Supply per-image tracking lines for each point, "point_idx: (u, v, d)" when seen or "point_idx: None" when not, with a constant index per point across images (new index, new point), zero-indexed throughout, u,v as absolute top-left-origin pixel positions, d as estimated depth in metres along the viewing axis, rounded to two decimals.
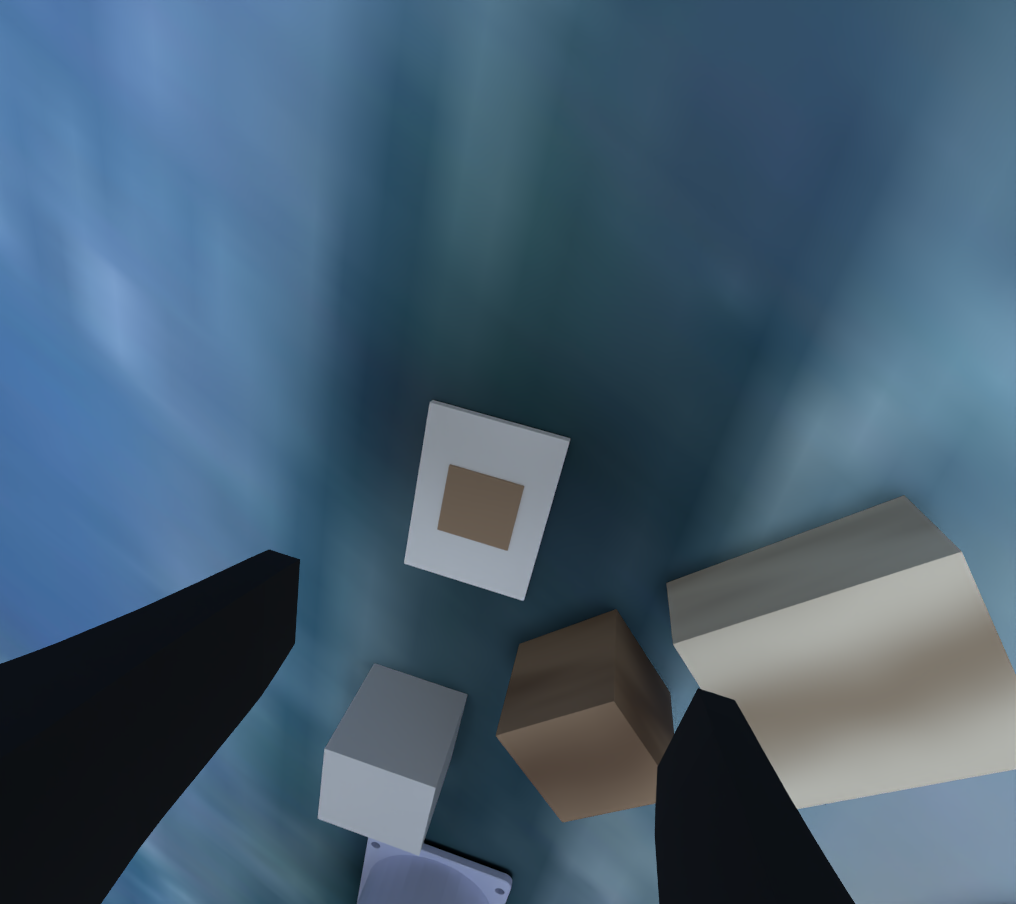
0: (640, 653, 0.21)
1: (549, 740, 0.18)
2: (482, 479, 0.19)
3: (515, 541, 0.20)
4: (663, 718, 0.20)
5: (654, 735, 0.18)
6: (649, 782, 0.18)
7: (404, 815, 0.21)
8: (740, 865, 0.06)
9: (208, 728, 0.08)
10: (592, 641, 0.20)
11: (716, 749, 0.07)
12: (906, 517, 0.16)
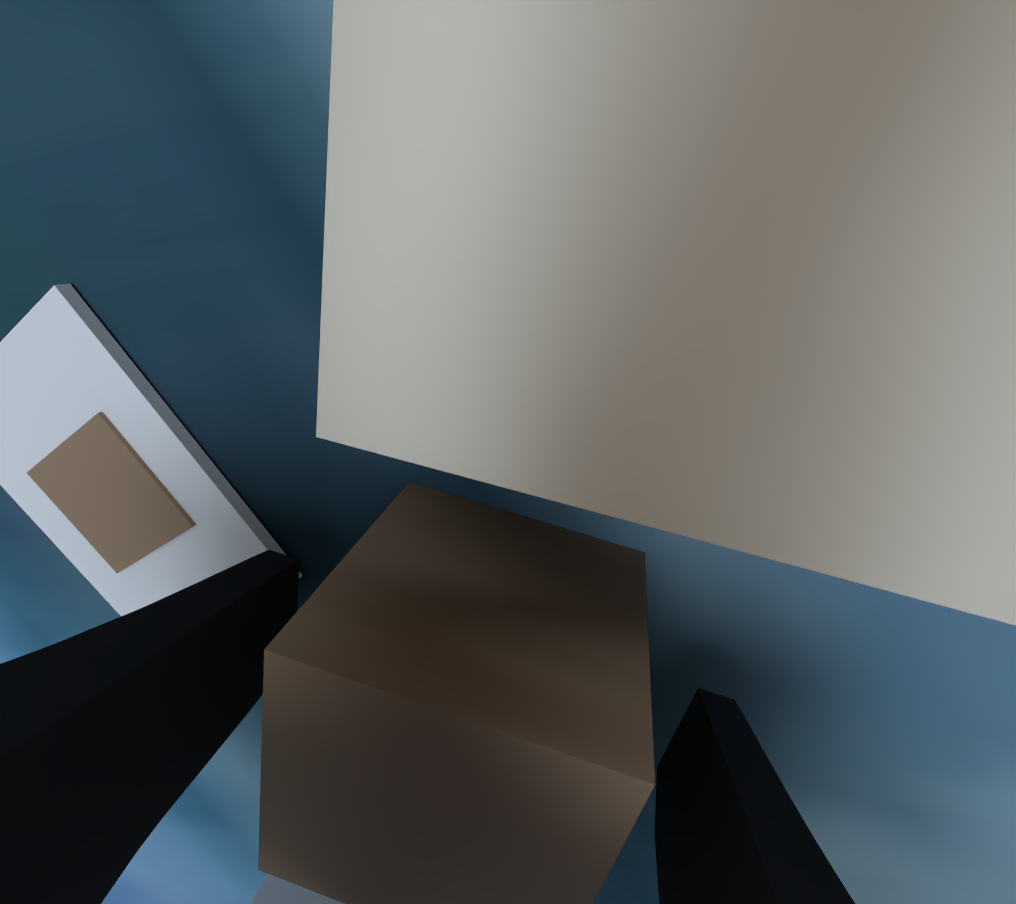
0: (505, 523, 0.09)
1: (314, 822, 0.07)
2: (65, 453, 0.11)
3: (186, 503, 0.11)
4: (591, 609, 0.08)
5: (520, 659, 0.07)
6: (553, 790, 0.06)
7: None
8: (740, 865, 0.06)
9: (207, 729, 0.08)
10: None
11: (716, 749, 0.07)
12: None
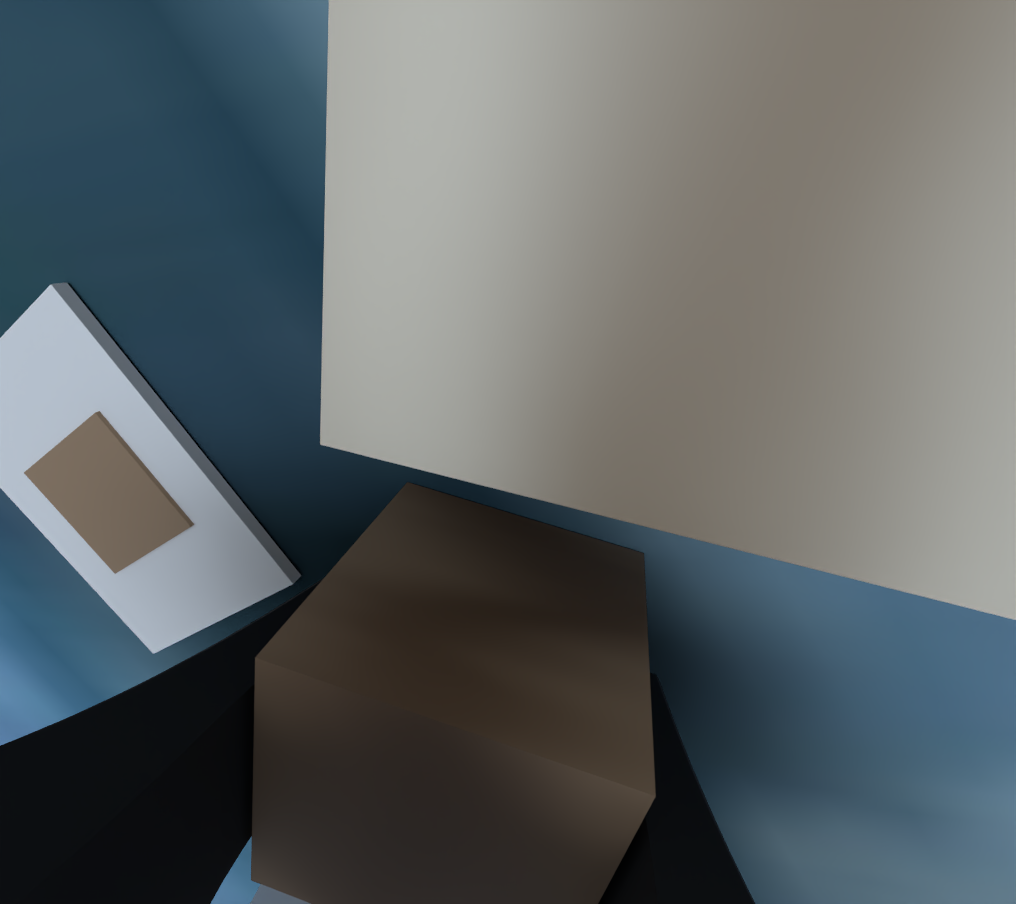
0: (502, 525, 0.09)
1: (306, 832, 0.07)
2: (62, 453, 0.11)
3: (184, 503, 0.11)
4: (590, 614, 0.08)
5: (518, 667, 0.07)
6: (552, 800, 0.06)
7: None
8: None
9: None
10: None
11: None
12: None
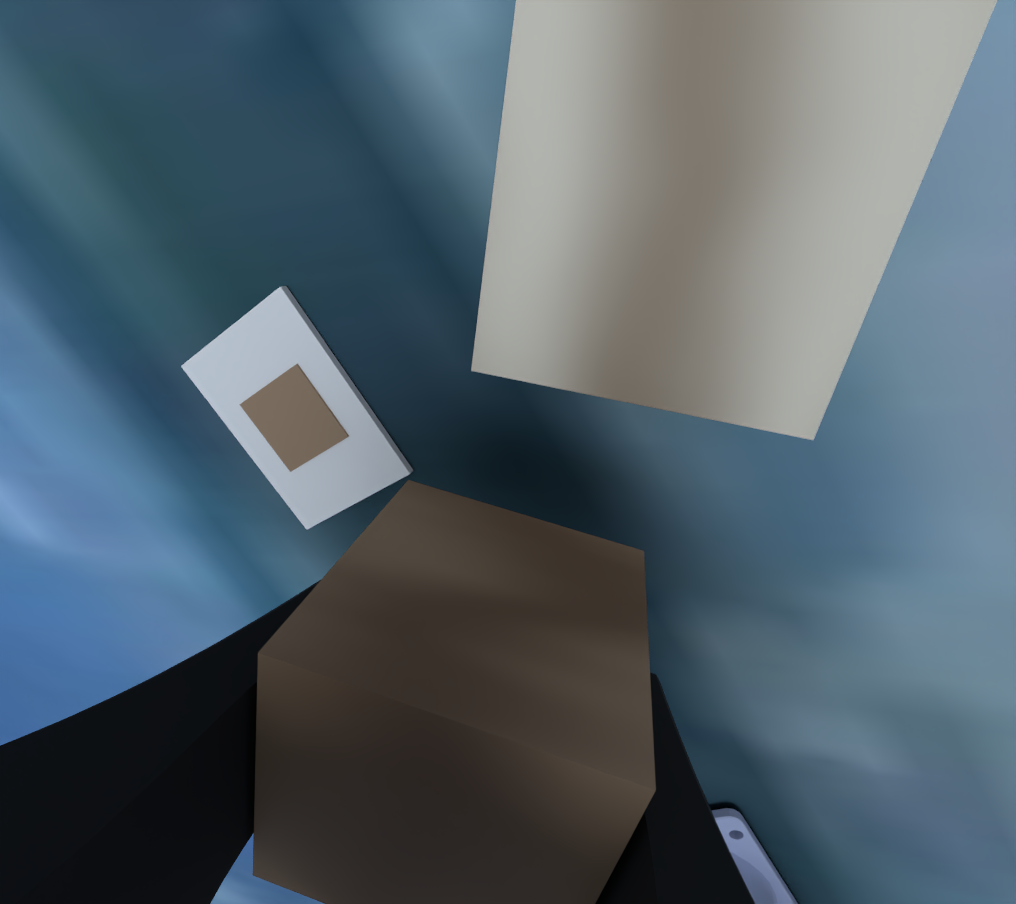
0: (503, 523, 0.09)
1: (309, 827, 0.07)
2: (268, 391, 0.18)
3: (345, 422, 0.18)
4: (591, 610, 0.08)
5: (520, 663, 0.07)
6: (552, 795, 0.06)
7: None
8: None
9: None
10: None
11: None
12: None
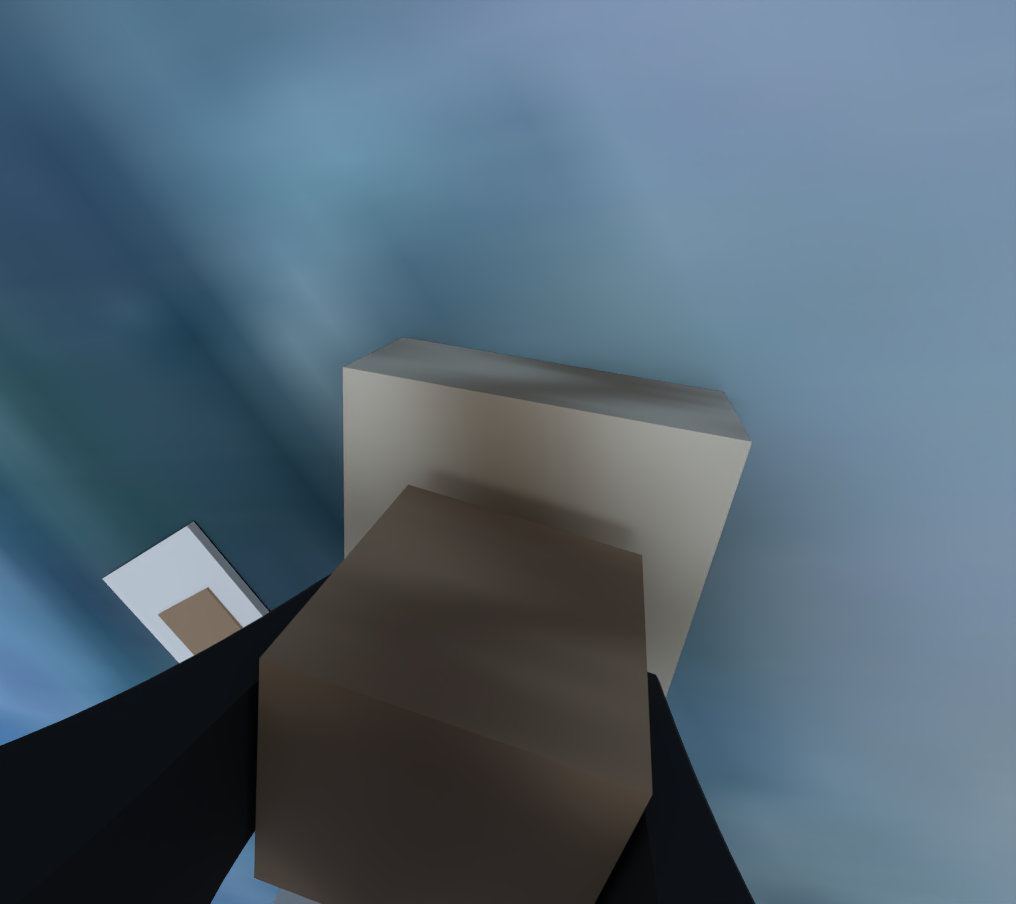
0: (502, 527, 0.09)
1: (310, 830, 0.07)
2: (183, 606, 0.19)
3: None
4: (589, 615, 0.08)
5: (518, 667, 0.07)
6: (550, 800, 0.06)
7: None
8: None
9: None
10: None
11: None
12: None
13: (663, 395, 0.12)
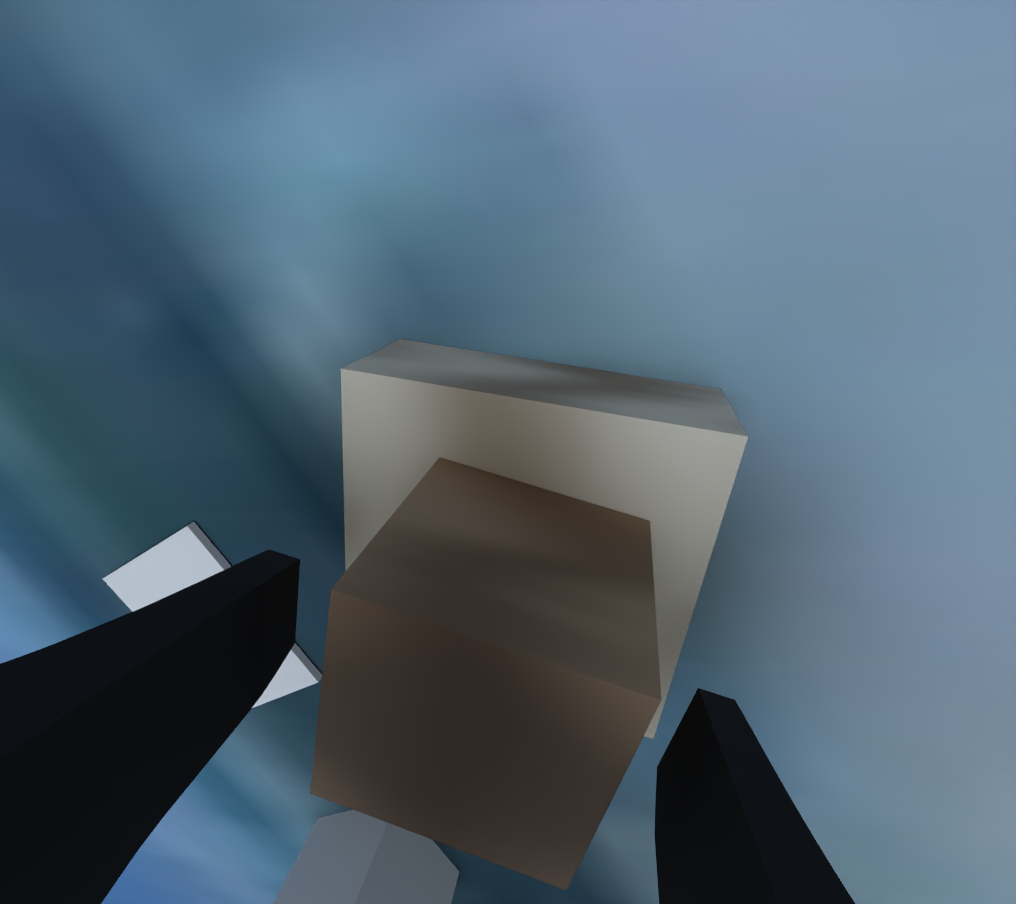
0: (525, 495, 0.11)
1: (364, 745, 0.08)
2: None
3: None
4: (604, 567, 0.09)
5: (545, 604, 0.08)
6: (575, 708, 0.07)
7: None
8: (740, 865, 0.06)
9: (208, 728, 0.08)
10: None
11: (716, 749, 0.07)
12: None
13: (660, 392, 0.12)
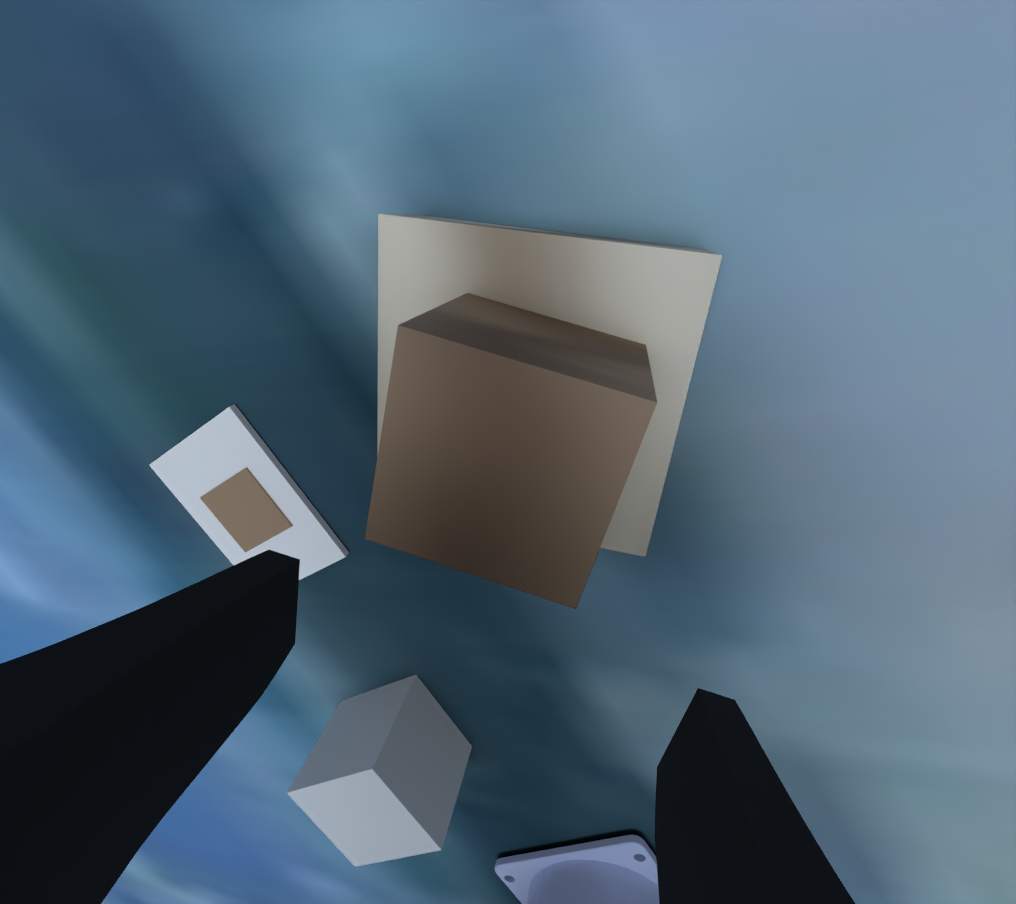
0: (541, 318, 0.12)
1: (414, 481, 0.10)
2: (223, 487, 0.21)
3: (288, 514, 0.21)
4: (610, 354, 0.11)
5: (564, 357, 0.10)
6: (589, 418, 0.09)
7: (388, 814, 0.20)
8: (740, 865, 0.06)
9: (208, 728, 0.08)
10: None
11: (716, 749, 0.07)
12: None
13: (650, 243, 0.14)
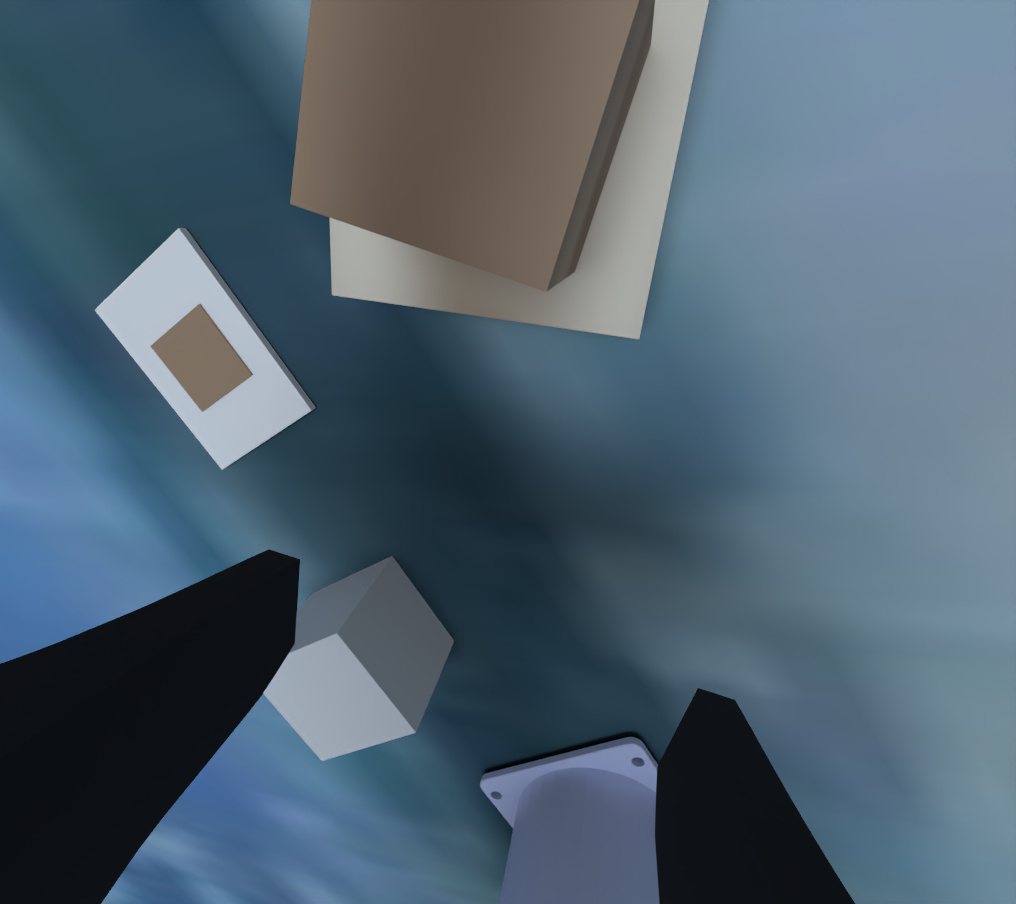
0: None
1: (350, 103, 0.08)
2: (176, 331, 0.19)
3: (248, 360, 0.18)
4: None
5: None
6: None
7: (356, 691, 0.18)
8: (740, 865, 0.06)
9: (208, 728, 0.08)
10: None
11: (716, 749, 0.07)
12: None
13: None
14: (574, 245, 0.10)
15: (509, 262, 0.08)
